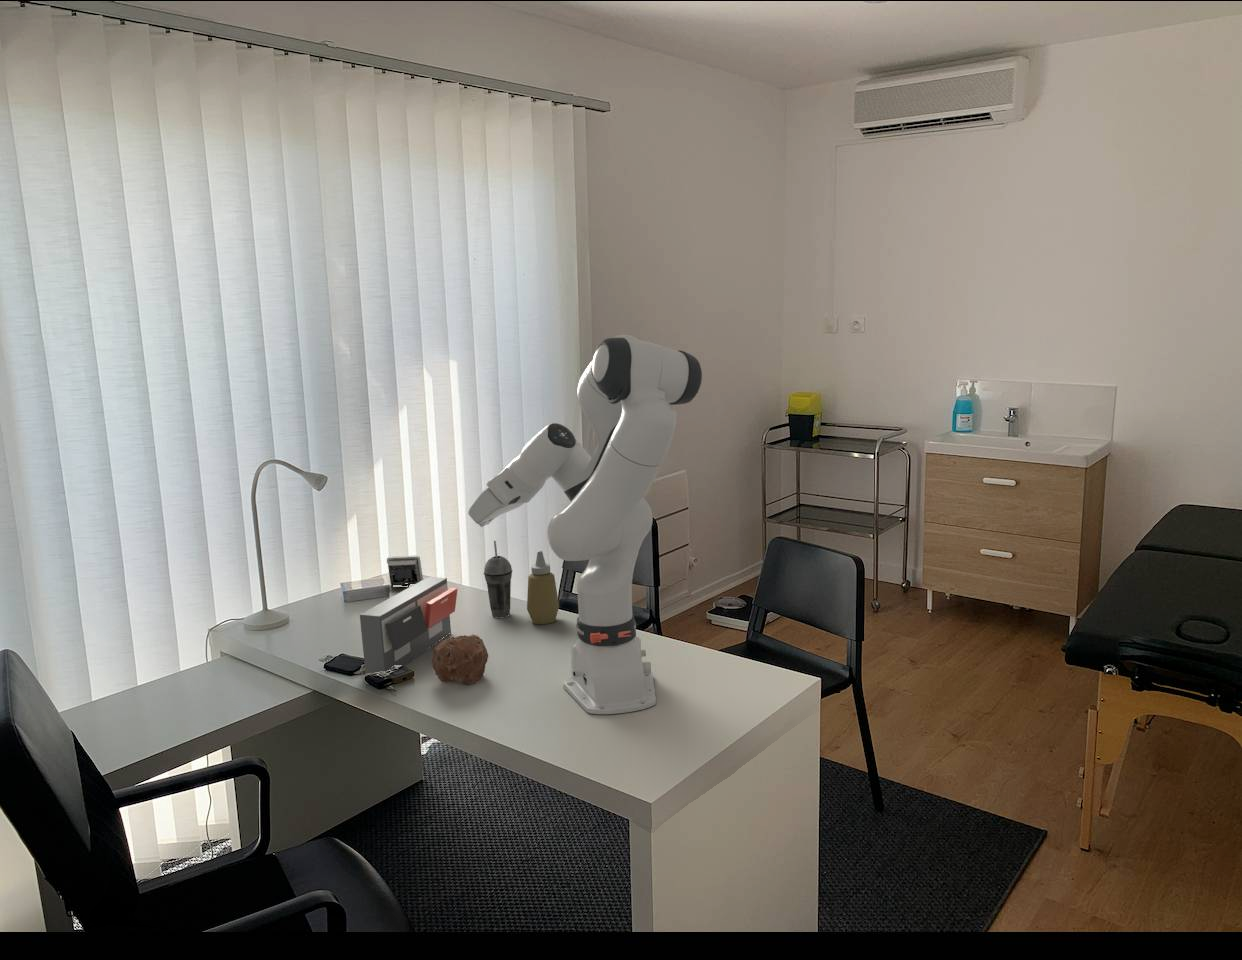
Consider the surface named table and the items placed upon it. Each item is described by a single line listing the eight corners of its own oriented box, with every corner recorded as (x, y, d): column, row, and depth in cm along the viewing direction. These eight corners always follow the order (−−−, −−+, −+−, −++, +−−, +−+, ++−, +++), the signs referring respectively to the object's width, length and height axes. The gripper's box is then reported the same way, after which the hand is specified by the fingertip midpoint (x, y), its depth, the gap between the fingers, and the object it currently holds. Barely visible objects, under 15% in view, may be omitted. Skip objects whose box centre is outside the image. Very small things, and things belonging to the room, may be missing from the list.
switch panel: (451, 633, 226) (447, 578, 223) (386, 678, 200) (380, 616, 197) (433, 631, 227) (428, 576, 225) (365, 675, 202) (359, 614, 199)
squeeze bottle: (556, 627, 227) (552, 556, 224) (524, 626, 228) (519, 556, 225) (563, 615, 235) (559, 547, 232) (532, 615, 236) (528, 547, 233)
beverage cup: (517, 610, 241) (513, 535, 237) (512, 619, 233) (506, 543, 230) (490, 610, 241) (485, 536, 238) (483, 620, 234) (478, 543, 230)
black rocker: (427, 630, 210) (420, 605, 209) (397, 649, 199) (390, 623, 198) (422, 631, 210) (415, 606, 209) (392, 650, 199) (385, 624, 198)
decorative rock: (454, 697, 189) (451, 650, 187) (419, 684, 196) (415, 639, 194) (501, 675, 199) (498, 631, 197) (465, 664, 206) (462, 621, 204)
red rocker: (455, 611, 223) (458, 588, 221) (428, 628, 212) (431, 604, 210) (450, 609, 223) (453, 586, 222) (423, 626, 212) (426, 602, 211)
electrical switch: (424, 582, 268) (420, 552, 265) (421, 590, 263) (417, 559, 260) (391, 584, 268) (387, 554, 265) (387, 591, 263) (384, 561, 260)
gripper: (531, 464, 213) (496, 503, 219) (485, 480, 195) (448, 522, 200) (549, 485, 212) (513, 523, 218) (505, 502, 194) (467, 544, 199)
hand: (482, 523), depth 209 cm, fingers closed
